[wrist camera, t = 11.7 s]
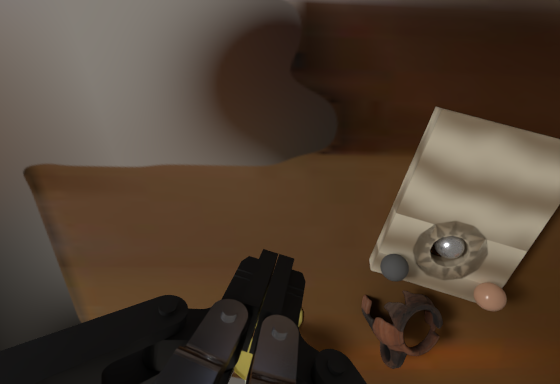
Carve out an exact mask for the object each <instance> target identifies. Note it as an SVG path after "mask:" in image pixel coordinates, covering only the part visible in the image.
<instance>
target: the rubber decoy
mask: <svg viewBox="0 0 560 384" xmlns="http://www.w3.org/2000/svg"><path fill="white" fill-rule="evenodd" d="M380 268H381V272H382V274H383V275H384V276H385V277H386V278H387V279H389V280H391V281H400V280H403V279H404V278H405V277H406V276H407V275H408V272H409V265H408V263H407V261H406V259H405V258H404V257H402V256H401V255H398V254H389V255H387V256H385V257H384V258H383V259H382V261H381V265H380Z"/></svg>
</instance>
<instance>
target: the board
mask: <svg viewBox="0 0 560 384" xmlns="http://www.w3.org/2000/svg"><path fill="white" fill-rule="evenodd" d="M559 205H560V139H558V138H554V137H550V136H546V135H542V134H538V133H535V132H531V131H527V130H523V129H519V128H515V127H512V126H508V125H504V124H500V123H496V122H493V121H489V120H485V119H481V118H477V117H473V116H470V115H466V114H462V113H458V112H454V111H450V110H447V109H443V108H439V107H435V110H434V112H433V114H432V116H431V119H430V121H429V123H428V126H427V128H426V130H425V133H424V135H423V137H422V139H421V142H420V144H419V146H418V149H417V151H416V153H415V156H414V158H413V160H412V162H411V165H410V167H409V169H408V172H407V174H406V176H405V179H404V181H403V183H402V185H401V188H400V190H399V192H398V195H397V197H396V199H395V202H394V204H393V206H392V208H391V211H390V213H389V215H388V218H387V220H386V222H385V225H384V227H383V229H382V231H381V234H380V236H379V238H378V241H377V243H376V245H375V248H374V250H373V252H372V254H371V257H370V259H369V261H370V268H371V270H372V271H376V272H379V273H382V272H381V268H380V265H381V261H382V259H383V258H384V257H385V256H387V255H389V254H398V255H401V256H402V257H404V258H405V259H406V261H407V263H408V265H409V272H408V275H407V276H406V277H405V278H404V279H403V280H405V281H408V282H411V283H414V284H418V285H421V286H424V287H427V288H431V289H434V290H437V291H440V292H443V293H447V294H450V295H453V296H456V297H460V298H463V299H466V300H469V301H473V302H476V301H475V299H474V296H473V293H474V289H475V287H476V286H477V285H479V284H481V283H484V282H490V283H494V284H496V285H498V286H499V287H501V288H503V286H504V285H505V283H506V282H507V280H508V279H509V278H510V276H511V275H512V273H513V272H514V270H515V269H516V267H517V266H518V264H519V263H520V261H521V260H522V259H523V257H524V256H525V254H526V253H527V251H528V250H529V248H530V247H531V245H532V244H533V242H534V241H535V240H536V238H537V237H538V235H539V234H540V232H541V231H542V229H543V228H544V226H545V225H546V224H547V222H548V221H549V219H550V218H551V216H552V215H553V213H554V212H555V210H556V209H557V207H558V206H559ZM447 236H456V237H459V238H462V239H463V241H464V244H465V249H464V252H463V253H462V254H461V255H460V256H459V257H457V258H453V259H449V258H445V257H442V256H441V257H440V256H437V255H433V254H431V253H430V249H431V247H432V245H433V243H434V242H436V241H437V240H439V239H440V238H442V237H447Z"/></svg>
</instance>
